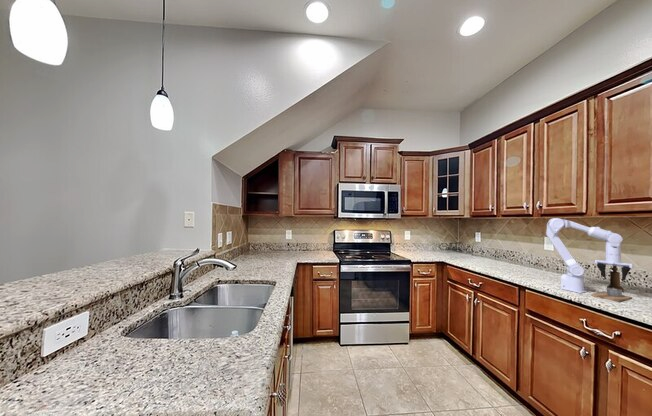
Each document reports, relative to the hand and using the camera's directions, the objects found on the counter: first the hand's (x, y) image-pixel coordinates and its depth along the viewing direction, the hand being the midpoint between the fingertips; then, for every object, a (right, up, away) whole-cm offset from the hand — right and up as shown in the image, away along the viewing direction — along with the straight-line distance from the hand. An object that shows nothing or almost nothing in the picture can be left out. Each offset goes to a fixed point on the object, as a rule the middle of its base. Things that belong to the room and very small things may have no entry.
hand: (613, 278), depth 144 cm
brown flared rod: (+11, -10, +8) cm, 17 cm away
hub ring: (-4, -8, -4) cm, 10 cm away
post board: (-5, -9, -3) cm, 11 cm away
